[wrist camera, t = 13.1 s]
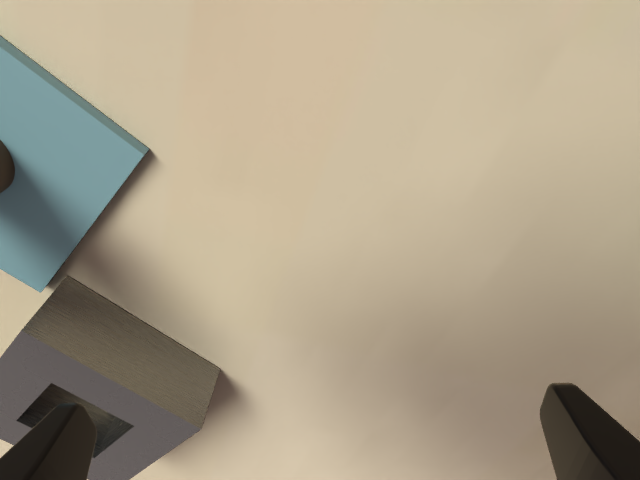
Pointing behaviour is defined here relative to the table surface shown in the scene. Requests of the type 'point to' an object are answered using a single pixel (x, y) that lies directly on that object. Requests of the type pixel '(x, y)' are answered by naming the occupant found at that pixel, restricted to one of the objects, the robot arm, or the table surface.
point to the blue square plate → (53, 168)
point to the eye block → (104, 380)
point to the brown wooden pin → (6, 168)
